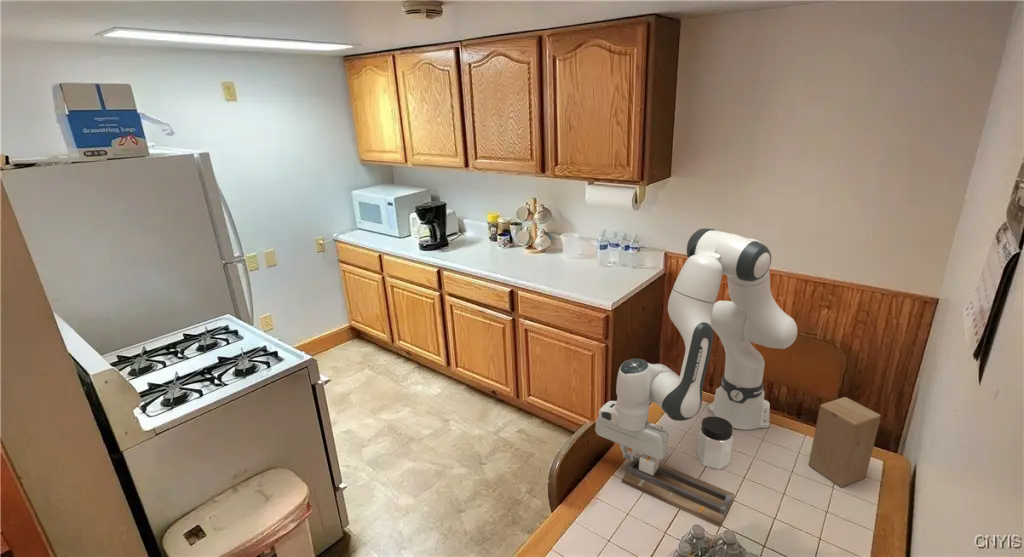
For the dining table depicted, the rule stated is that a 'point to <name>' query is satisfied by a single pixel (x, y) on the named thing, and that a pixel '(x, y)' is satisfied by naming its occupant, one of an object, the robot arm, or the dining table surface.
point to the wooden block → (843, 441)
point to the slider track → (681, 491)
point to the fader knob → (648, 465)
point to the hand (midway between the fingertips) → (629, 458)
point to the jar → (715, 442)
